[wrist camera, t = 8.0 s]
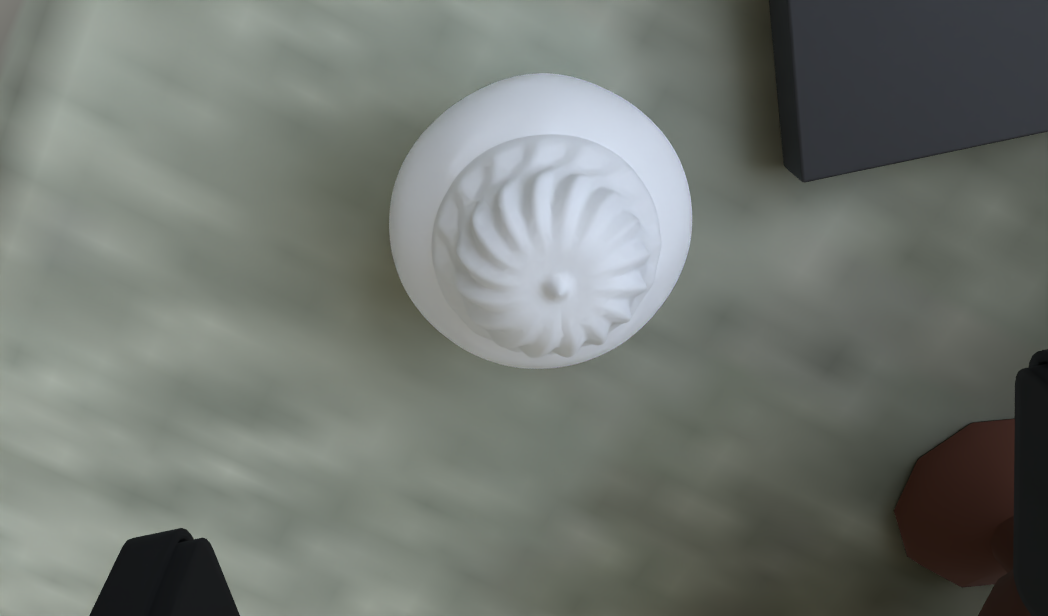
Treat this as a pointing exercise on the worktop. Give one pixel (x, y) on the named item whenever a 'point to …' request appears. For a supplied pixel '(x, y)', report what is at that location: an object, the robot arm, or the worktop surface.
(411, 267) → the muffin
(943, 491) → the ice cream bowl
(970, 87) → the scale
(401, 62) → the worktop surface
